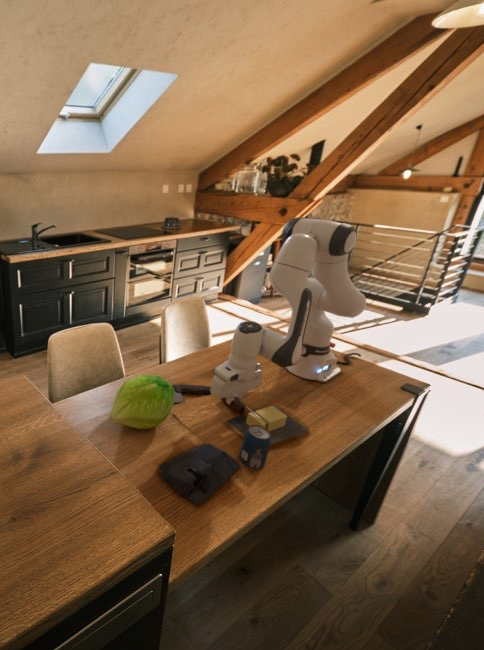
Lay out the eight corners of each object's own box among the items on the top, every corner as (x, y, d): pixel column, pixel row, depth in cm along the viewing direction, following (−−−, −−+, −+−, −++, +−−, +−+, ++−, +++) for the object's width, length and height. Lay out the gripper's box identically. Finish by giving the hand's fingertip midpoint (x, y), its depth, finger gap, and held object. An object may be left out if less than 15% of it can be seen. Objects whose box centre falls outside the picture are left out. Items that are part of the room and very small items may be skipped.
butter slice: (249, 421, 127) (251, 412, 126) (263, 433, 122) (266, 423, 121) (245, 423, 127) (248, 413, 125) (260, 434, 122) (262, 424, 120)
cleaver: (209, 387, 148) (210, 382, 147) (219, 402, 139) (220, 397, 138) (134, 389, 145) (134, 384, 145) (140, 405, 137) (140, 400, 136)
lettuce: (105, 441, 127) (88, 392, 128) (163, 411, 138) (146, 366, 139) (135, 448, 110) (115, 392, 111) (197, 413, 121) (179, 362, 122)
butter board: (272, 408, 137) (276, 395, 135) (308, 433, 125) (312, 420, 123) (225, 423, 128) (228, 410, 126) (258, 452, 117) (262, 438, 114)
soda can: (251, 452, 116) (259, 421, 112) (268, 469, 110) (278, 437, 106) (233, 458, 114) (240, 426, 109) (249, 475, 108) (258, 442, 103)
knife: (220, 399, 138) (222, 391, 136) (226, 398, 139) (227, 390, 137) (263, 433, 122) (265, 424, 121) (268, 431, 123) (270, 422, 121)
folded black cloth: (248, 475, 108) (251, 462, 106) (194, 510, 97) (196, 496, 95) (206, 442, 120) (208, 430, 118) (153, 469, 109) (155, 457, 107)
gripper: (256, 357, 135) (248, 390, 141) (210, 369, 127) (204, 403, 133) (270, 366, 130) (262, 400, 135) (224, 379, 122) (217, 414, 128)
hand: (233, 401), depth 134 cm, fingers closed on knife, 2 cm apart
